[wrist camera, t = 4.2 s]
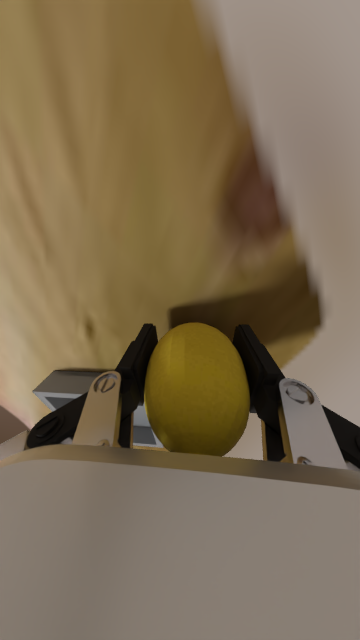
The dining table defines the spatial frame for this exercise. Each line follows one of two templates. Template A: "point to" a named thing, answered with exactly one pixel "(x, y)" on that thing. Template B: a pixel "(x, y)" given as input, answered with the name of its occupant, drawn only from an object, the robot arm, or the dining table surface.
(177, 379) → the lemon
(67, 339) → the dining table surface
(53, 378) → the tray
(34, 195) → the dining table surface
